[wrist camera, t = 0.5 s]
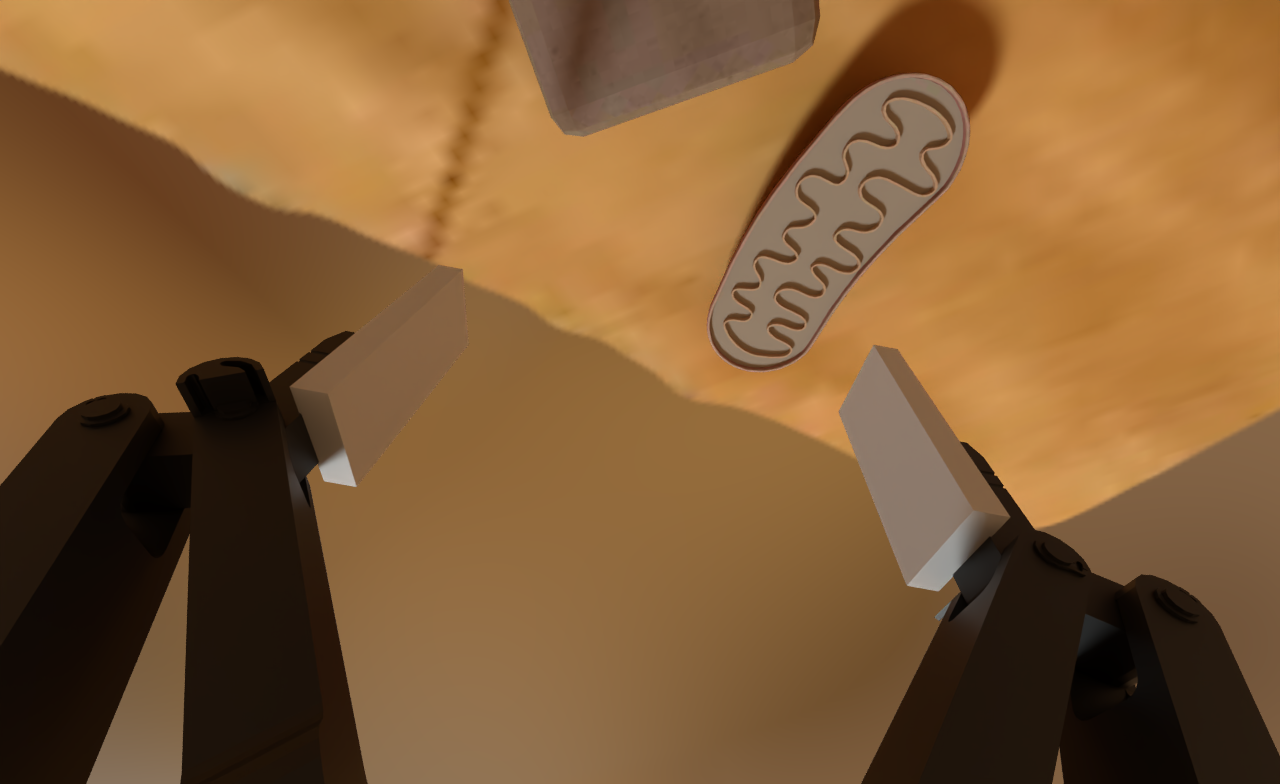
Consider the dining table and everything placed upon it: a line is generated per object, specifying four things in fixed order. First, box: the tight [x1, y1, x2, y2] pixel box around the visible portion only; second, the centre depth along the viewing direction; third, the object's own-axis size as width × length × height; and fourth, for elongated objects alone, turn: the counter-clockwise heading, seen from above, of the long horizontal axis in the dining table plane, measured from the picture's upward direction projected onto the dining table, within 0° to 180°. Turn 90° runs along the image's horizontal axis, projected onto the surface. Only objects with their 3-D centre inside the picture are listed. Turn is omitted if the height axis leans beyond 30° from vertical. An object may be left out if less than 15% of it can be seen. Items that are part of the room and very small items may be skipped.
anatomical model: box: [707, 73, 970, 372], centre depth 36 cm, size 23×10×5 cm, turn 153°
